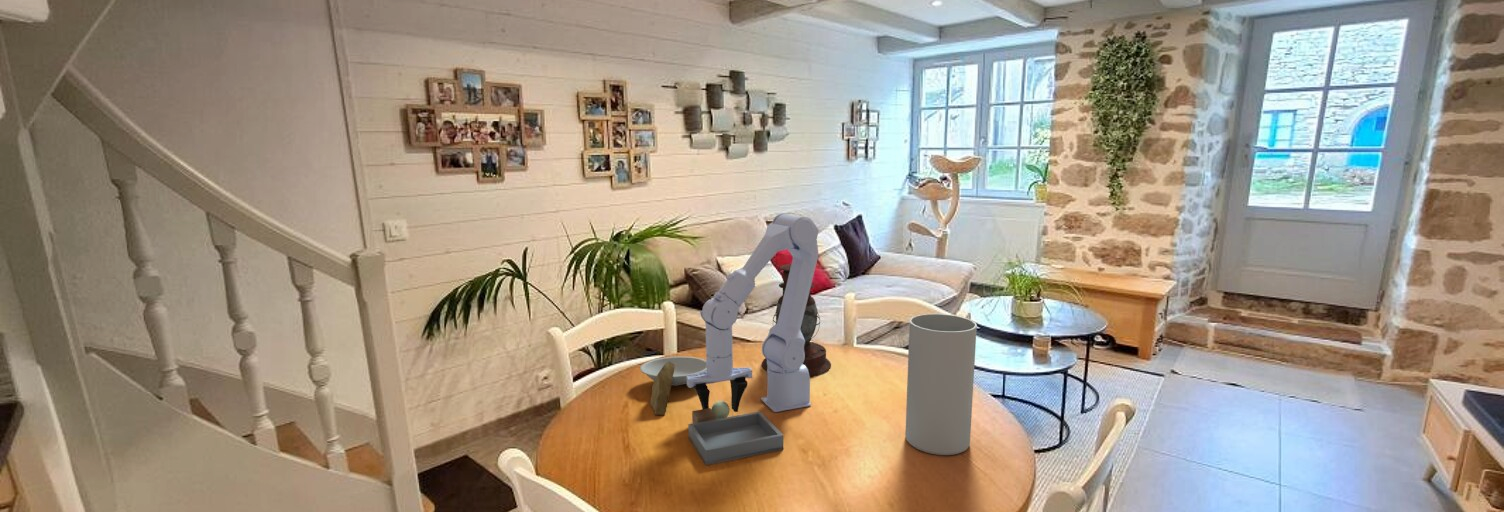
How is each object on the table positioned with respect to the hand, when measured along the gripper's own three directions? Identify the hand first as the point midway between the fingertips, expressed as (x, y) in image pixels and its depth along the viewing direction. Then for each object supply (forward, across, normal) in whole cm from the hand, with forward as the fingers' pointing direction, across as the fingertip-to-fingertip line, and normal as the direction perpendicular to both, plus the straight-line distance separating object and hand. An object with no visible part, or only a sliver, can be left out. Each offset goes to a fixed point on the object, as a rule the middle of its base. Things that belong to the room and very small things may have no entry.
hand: (720, 412), depth 136 cm
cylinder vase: (+2, -37, +27) cm, 46 cm away
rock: (+2, +11, -12) cm, 16 cm away
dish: (+2, +4, -23) cm, 23 cm away
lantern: (+2, -30, -24) cm, 38 cm away
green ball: (+1, 0, 0) cm, 1 cm away
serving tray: (+1, +1, +12) cm, 12 cm away
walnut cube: (+2, +5, +4) cm, 7 cm away
